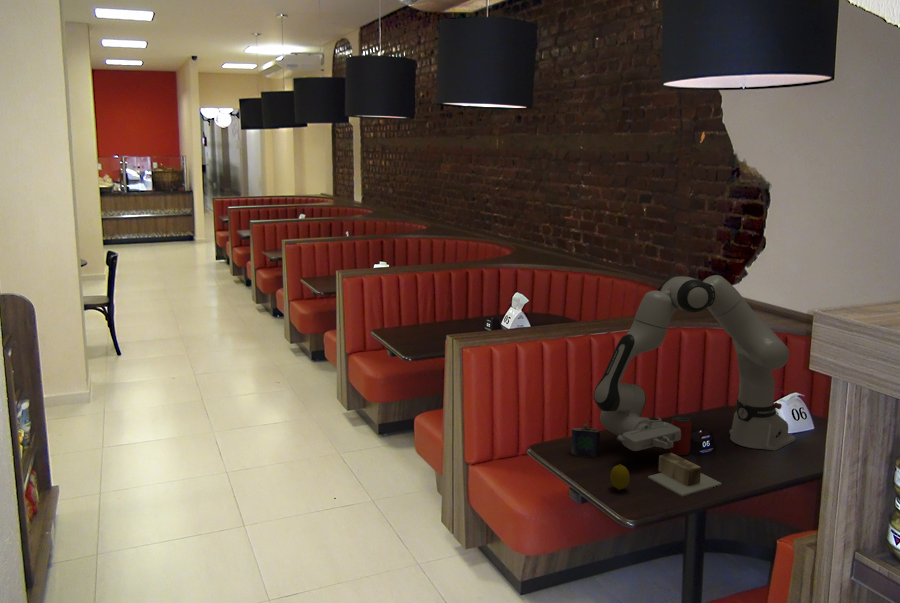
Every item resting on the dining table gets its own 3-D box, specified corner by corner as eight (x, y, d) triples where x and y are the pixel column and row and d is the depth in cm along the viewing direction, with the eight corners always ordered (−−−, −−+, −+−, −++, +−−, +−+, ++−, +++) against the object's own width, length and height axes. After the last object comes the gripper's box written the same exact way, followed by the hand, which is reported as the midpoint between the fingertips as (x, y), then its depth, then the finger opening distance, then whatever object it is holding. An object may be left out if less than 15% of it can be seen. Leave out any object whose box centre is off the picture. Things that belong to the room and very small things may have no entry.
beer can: (690, 456, 233) (693, 422, 230) (670, 455, 234) (672, 420, 232) (688, 449, 239) (690, 415, 237) (668, 447, 240) (670, 413, 238)
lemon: (615, 495, 207) (616, 469, 205) (606, 487, 212) (607, 461, 210) (632, 492, 208) (633, 467, 206) (622, 484, 213) (624, 459, 212)
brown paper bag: (671, 452, 222) (701, 467, 212) (670, 467, 223) (700, 483, 213) (659, 455, 220) (689, 470, 209) (658, 470, 221) (688, 486, 210)
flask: (570, 455, 235) (571, 424, 233) (571, 452, 237) (572, 421, 235) (599, 458, 232) (600, 427, 230) (599, 454, 235) (600, 423, 233)
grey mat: (686, 467, 225) (686, 465, 225) (721, 485, 213) (721, 483, 212) (648, 478, 218) (648, 476, 217) (682, 496, 205) (682, 494, 205)
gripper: (614, 427, 226) (644, 442, 214) (662, 416, 235) (694, 430, 223) (613, 446, 227) (643, 462, 215) (661, 434, 236) (693, 449, 224)
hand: (669, 445), depth 219 cm, fingers closed
